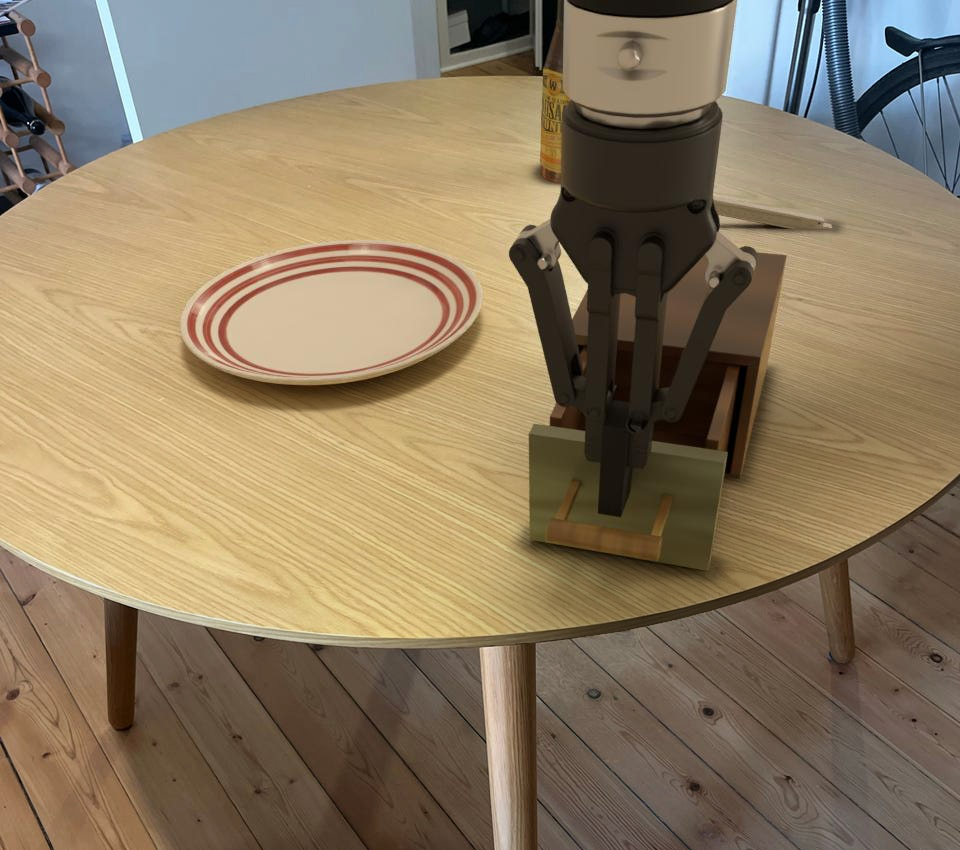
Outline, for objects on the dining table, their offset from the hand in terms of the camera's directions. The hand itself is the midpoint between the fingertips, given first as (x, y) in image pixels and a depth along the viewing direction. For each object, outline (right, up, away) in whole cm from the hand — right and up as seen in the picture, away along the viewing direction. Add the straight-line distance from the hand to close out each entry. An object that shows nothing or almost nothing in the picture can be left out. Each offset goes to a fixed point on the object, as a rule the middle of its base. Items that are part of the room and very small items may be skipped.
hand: (614, 502), depth 64 cm
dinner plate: (-22, +20, +30) cm, 42 cm away
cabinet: (+7, +10, +18) cm, 22 cm away
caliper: (+18, +34, +41) cm, 56 cm away
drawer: (+2, 0, +8) cm, 8 cm away
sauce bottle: (+2, +44, +53) cm, 69 cm away
